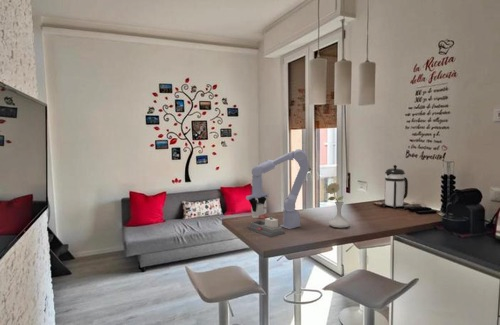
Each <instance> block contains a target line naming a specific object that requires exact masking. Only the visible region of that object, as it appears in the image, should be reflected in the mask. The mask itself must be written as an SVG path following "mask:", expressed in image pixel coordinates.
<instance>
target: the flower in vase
mask: <svg viewBox="0 0 500 325" xmlns="http://www.w3.org/2000/svg"><path fill="white" fill-rule="evenodd" d="M339 190H340V184H339V183H337V182H331V183H329V184H328V185H327V186H326V188H325V191H326V193H327V194H330V195H331V194H334V196H330V197H328V199H327V200H330V201H334V200H335V202H334V203H335V206H336V215H335V216H334V217H333V218H331V219H330V220H329V221H328V225H329V226H330V227H333V228H338V229H339V228H341V229H342V228H348V227H349V226H350V222H349V221H348V220H347V219H346V218H345V217H344V216H343V215H342V208H343V206H344V201H342V200H343V198H344V195H342V196H339V197H338V198H336V194H335V193H337V192H338V191H339Z"/></svg>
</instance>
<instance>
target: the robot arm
mask: <svg viewBox="0 0 500 325" xmlns="http://www.w3.org/2000/svg"><path fill="white" fill-rule="evenodd" d="M294 160H295V161H296V162H297V164H298V167H299V169H298V172H297V175H296V177H295V179H294V182H293V184H292V186H291V189H290V192H289V194H288V195H287V198H285V199H284V201H283V209H282V224H280V225H279V226H280V227H282V228H285V229H289V230H291V229H295V228H298V227H302V225H301V214H300V211H299V210H297V209H296V203H297V199H298V196H299V193H300V191H301V189H302V186H303V184H304V181H305V179H306V176H307V174H308V171H309V169H310V164H309V160H308V156H307V154H306V153H305V152H304V150H303V149H300V148H299V149H296V150H292V151H289V152H286V153H285V154H283V155H281V156H279V157H277V158H275V159H274V160H272V159H265V161H263V162H262V163H258V165H256V166H253V168H252V169H251V174H252V179H251V184H252V185H251V186H252V188H251V189H252V190H251V191H252V192H251V194H250V195H246V196H245V199H246V201H249V203H250V205H251V206H252V209H253V211H254V212H256V204H257V200H256V198H258V202H259V203H261V204H263V205H264V203H265V201H266V202H267V198H269V193H267V192H265V193H264V192H263V177H262V176H263V175H262V174H266V173H268V172H270V171H272V170H274V169H275V167H276V166H277V165H280V164H282V163H284V162H287V161H294ZM251 206H250V207H251Z"/></svg>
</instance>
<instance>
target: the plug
mask: <svg viewBox="0 0 500 325" xmlns="http://www.w3.org/2000/svg"><path fill="white" fill-rule="evenodd" d="M250 210H251V215H252V214H254V215H257V216H259V215H264V213H263V204H261V203H259V202H257V204H256V212H254V211H253V209H252V206H250Z"/></svg>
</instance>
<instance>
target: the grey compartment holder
mask: <svg viewBox="0 0 500 325" xmlns="http://www.w3.org/2000/svg"><path fill="white" fill-rule="evenodd" d="M249 224H250V225H248V226H247V229H248V230H249V231H253V232H255V233H258V234H261V235H263V236H266V237H269V238H272V237H277V236H281V235H284V234H286V233H285V231H286V230H283V227H281V226H280V225H279V219H278V218H274V217H272V216H270V217H266V218H264V220H256V221H254V220H253V221H251V222H250V223H249Z"/></svg>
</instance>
